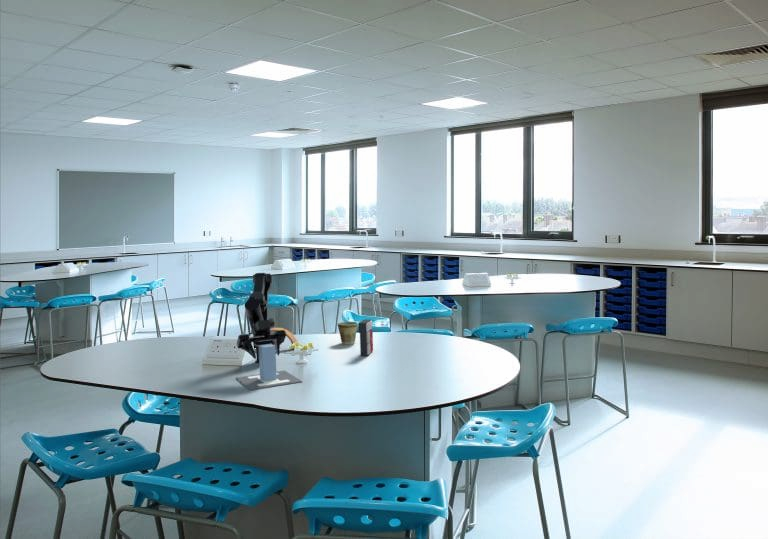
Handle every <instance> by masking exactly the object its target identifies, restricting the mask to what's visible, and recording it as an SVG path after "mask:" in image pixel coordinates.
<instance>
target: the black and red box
mask: <svg viewBox="0 0 768 539" xmlns="http://www.w3.org/2000/svg"><path fill="white" fill-rule="evenodd" d="M357 323H358V326H357V331H358V333H359V346H360V347H359V348H360V349H359V351H360V356H361V357H367V355H370V354H371V353H372V352H373V351H374V340H373V339H374V337H373V336H374V335H373V333H374V332H373V331H374V330H373V321H372V319H371V318H370V319H368V318H366V319H365V318H364V319H362V320H361V321H359V322H357Z"/></svg>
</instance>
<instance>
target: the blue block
mask: <svg viewBox="0 0 768 539" xmlns="http://www.w3.org/2000/svg"><path fill="white" fill-rule="evenodd" d="M276 355H277V353H276V350H275V346H274V345H272V344H266V345H259V362H258V363H259V365H258V366H259V374H260V379H261V380H263V381H270V380H276V379H277V375H276V372H277V356H276Z"/></svg>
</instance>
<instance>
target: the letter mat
mask: <svg viewBox="0 0 768 539" xmlns="http://www.w3.org/2000/svg"><path fill="white" fill-rule="evenodd" d="M276 375H277V379H276V380H270V381H263V380H261V379H260V373H259V374H258V373H257V374H251V375H245V376H244V375H243V376H237V377H236V378H237V379H238V380H239V381H240V382H239V381H238V380H237V379H236V380H237V381H238V382H239V383H241V384H242V383H243V384H244V385H245V386H246V389H248V390H249V389H250V391H255V389H256V390H261V389H262V390H263V389H267V388H274V387H280V386H285V385H293V384H299V383H302V382H303V380H302V379H299V377H296V376H294V375H293V374H292V373H290V372H288V371H286V370H279V371H277V370H276ZM243 384H242V385H243ZM244 385H243V386H244ZM245 386H244V387H245Z"/></svg>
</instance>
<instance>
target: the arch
mask: <svg viewBox="0 0 768 539" xmlns="http://www.w3.org/2000/svg"><path fill="white" fill-rule="evenodd" d="M270 330H271V331H272V333H275V331H277V330H284V331H285V332H286V337H287V339H288V340H289V341H290V343H291V345H292V344H293V343H295V342H297V343H298V341H297V339H296V337H295V335H294V334H293V333H292V332H291V331H290V330H288V329H286V328H284V327H271V328H270Z"/></svg>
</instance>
